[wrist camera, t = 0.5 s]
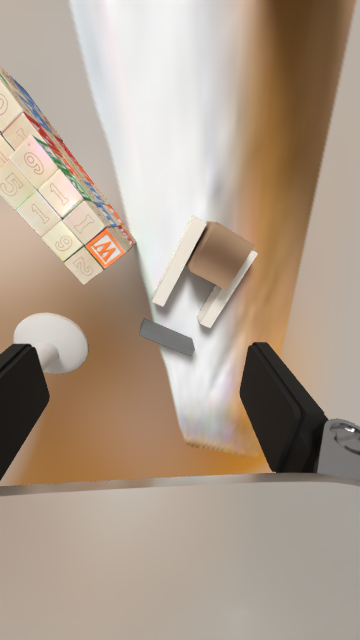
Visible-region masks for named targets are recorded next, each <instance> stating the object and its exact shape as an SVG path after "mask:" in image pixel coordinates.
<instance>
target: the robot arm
mask: <svg viewBox="0 0 360 640" xmlns="http://www.w3.org/2000/svg"><path fill="white" fill-rule="evenodd" d="M49 397H50V396H49V391H48V388H47V384H46V381H45V378H44V374H43V371H42V367H41V364H40V360H39V357H38V353H37V350H36V348H35V347H32V345H31V344H12V345H11V346H10V347H8V348H7V349H6V350H5V351H4V352H3V353H1V354H0V480H1V479H2V477H3V476H4V474H5V472H6V470H7V469H8V467H9V466H10V464H11V463H12V461H13V459H14V458H15V456H16V454H17V453H18V451H19V450H20V448H21V446H22V445H23V443H24V441H25V440H26V438H27V436H28V435H29V433H30V432H31V430H32V428H33V427H34V425H35V423H36V422H37V420H38V419H39V417H40V415H41V414H42V412H43V410H44V409H45V407H46V405H47V404H48V401H49ZM240 398H241V400H242V403H243V405H244V407H245V410H246V412H247V415H248V417H249V419H250V422H251V424H252V426H253V429H254V431H255V434H256V436H257V438H258V441H259V443H260V445H261V448H262V450H263V453H264V455H265V457H266V460H267V462H268V464H269V467H270V469H271V470H272V471H273V472H276V473H263V474H262V473H260V474H233V475H211V476H189V477H168V478H148V479H128V480H108V481H90V482H71V483H53V484H37V485H19V486H1V487H0V640H360V427H359V426H357V425H355V424H354V423H351V422H349V421H346V420H342V419H330V420H328V419H327V417H326V416H325V415H324V412H323V411H322V409H321V408H320V407H319V406H318V404H317V403H316V402H315V401H314V400H313V399H312V397H311V396H310V395H309V394H308V392H307V391H306V390H305V388H304V387H303V386H302V385H301V384H300V382H299V381H298V380H297V379H296V377H295V376H294V375H293V374H292V373H291V371H290V370H289V369H288V368H287V366H286V365H285V364H284V363H283V361H282V360H281V359H280V358H279V356H278V355H277V354H276V353H275V352H274V350H273V349H272V348H271V347H270V345H269V344H268V343H266V342H254V343H253V344H252V346H249V347H248V352H247V357H246V362H245V367H244V372H243V377H242V382H241V387H240Z"/></svg>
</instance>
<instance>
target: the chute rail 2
mask: <svg viewBox="0 0 360 640" xmlns="http://www.w3.org/2000/svg"><path fill="white" fill-rule="evenodd" d="M256 256H257V253H256V252H254V251H251V252H250V254H249V256H248V257H247V259H246V260H245V262H244V264H243V265H242V267H241V268H240V270H239V272H238V273H237V275H236V276H235V278H234V280H233V281H232V283H231V284H230V286H229V288H228V289H227V290H225V289H223V288H221V287H219V286H217V285H215V287H214V288H213V290H212V292H211V293H210V295H209V297H208V298H207V300H206V302H205V303H204V305H203V307H202V308H201V310H200V312H199V313H198V315H197V316H198V319H199V322H200V324H202V325H204V326H206V327H209V328H211V326H212V325H213V323H214V322H215V320H216V318H217V317H218V315H219V314H220V312H221V311H222V309H223V307H224V306H225V304H226V303H227V301H228V300H229V298H230V296H231V295H232V293H233V292H234V290H235V289H236V287H237V285H238V284H239V282H240V281H241V279H242V278H243V276H244V274H245V273H246V271H247V270H248V268H249V267H250V265H251V263H252V262H253V260H254V259H255V257H256Z"/></svg>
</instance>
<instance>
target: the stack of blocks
mask: <svg viewBox="0 0 360 640" xmlns="http://www.w3.org/2000/svg"><path fill="white" fill-rule="evenodd" d="M0 195H1V196H2V197H3V198H4V199H5V200H6V202H7V203H8V204H9V205H10V206H11V207H12V208H13V209H14V210H16V211H17V212H18V213H19V214H20V216H21V217H22V218H23V219H24V220H25V221H26V222H27V223H28V224H29V225H30V226H31V227H32V228H33V229H34V230H35V231H36V232H37V234H38V235H40V236H41V239H42V240H43V241H44V242H45V243H46V244H47V245H48V246H49V247H50V249H51V250H52V251H54V253H55V254H56V255H57V256H58V257H59V258H60V259H61V260H62V261H63V262H64V264H65V265H66V266H67V267H68V269H69V270H70V271H71V272H72V273H73V274H74V275H75V276H76V277H77V278H78V279H79V280H80V282H81V283H82V284H84V285H85V284H86V283H87V282H88V281H90V280H91V279H93V278H94V277H95V276H97V275H98V274H99V273H101V272H102V271H103V270H104V269H106V268H107V267H108V266H109V265H111V264H112V263H114V262H115V261H116V260H117V259H119V258H120V257H121V256H123V255H124V254H125V253H126V252H127V251H129V250H130V249H131V248H132V246H133V245H134V244H135V243H136V240H135V239H134V238H133V236H132V235H131V234H130V232H129V231H128V229H127V228H126V227H125V225H124V223H123V222H122V220H121V219H120V217H119V216H118V215H117V213H116V212H115V211H114V209H113V208H112V207H111V205H110V204H109V202H108V201H107V199H106V198H105V197H104V195H103V194H102V193H101V191H100V190H99V189H98V187H97V186H95V185H94V183H93V182H92V180H91V179H90V178H89V176H88V175H87V174H86V172H85V171H84V170H83V168H82V167H81V166H80V165H79V164H78V162H77V161H76V159H75V158H74V157H73V155H72V154H71V153H70V151H69V150H68V149H67V147H66V146H65V144H64V143H63V141H62V139H61V137H60V136H59V135H58V134H57V132H56V131H55V129H54V128H53V126H52V125H51V124H50V122H49V121H48V120H47V118H46V117H45V116H44V115H43V114H42V112H41V111H40V109H39V108H38V107H37V105H36V104H35V102H34V101H33V100H32V98H31V97H30V96H29V94H28V93H27V92H26V90H24V88H23V87H22V86H20V85H19V84H18V83H17V82H16V81H15V80H14V79H13V78H12V77H11V76H10V75H8V73H7V72H6V71H5V70H4V69H3V68H1V67H0Z"/></svg>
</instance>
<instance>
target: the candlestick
mask: <svg viewBox="0 0 360 640" xmlns="http://www.w3.org/2000/svg"><path fill="white" fill-rule="evenodd" d="M14 344H31V345H32V347H35V348H36V350H37V353H38V357H39V360H40V364H41V367H42V371H43V372H47V373H51V374H64V373H68V372H71V371H74V370H76V369H77V368H79V367H80V366H81V365H82V364H83V363H84V361H85V360H86V358H87V355H88V351H89V345H88V340H87V338H86V336H85V334H84V332H83V331H82V329H81V328H80V327H79V326H78V325H76V324H75V323H74V322H73V321H71V320H69V319H68V318H66V317H63V316H61V315H57V314H53V313H38V314H34V315H31V316H29V317H27V318H25V319H24V320H23V321H21V322H20V324H19V325H18V326H17V328H16V330H15V333H14Z"/></svg>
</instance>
